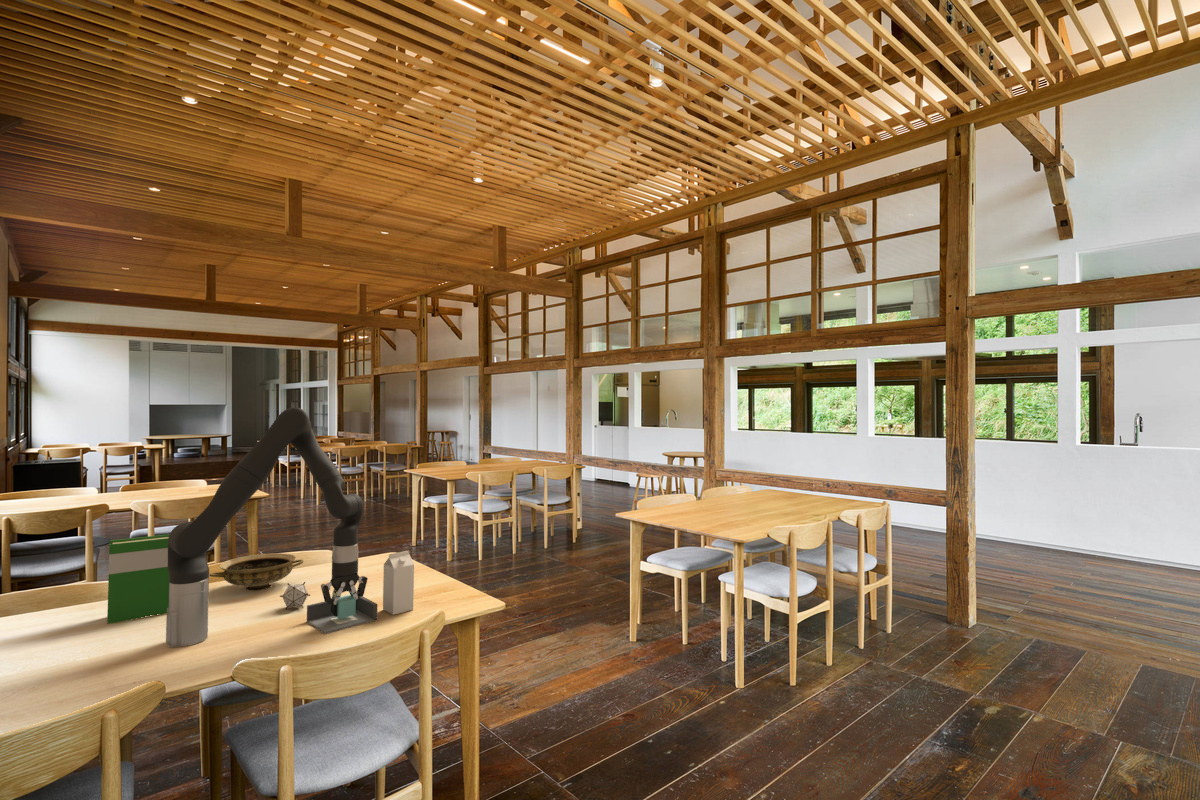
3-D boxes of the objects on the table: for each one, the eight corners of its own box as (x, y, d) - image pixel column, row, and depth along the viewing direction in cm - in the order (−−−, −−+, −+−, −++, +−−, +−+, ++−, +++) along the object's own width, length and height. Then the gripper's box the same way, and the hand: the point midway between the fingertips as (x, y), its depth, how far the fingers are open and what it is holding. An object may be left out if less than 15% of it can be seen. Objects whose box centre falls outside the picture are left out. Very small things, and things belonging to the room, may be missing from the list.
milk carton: (382, 610, 189) (383, 552, 189) (402, 604, 194) (403, 548, 194) (393, 615, 184) (394, 556, 184) (413, 610, 189) (414, 552, 190)
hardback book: (107, 623, 174) (109, 544, 175) (107, 616, 180) (109, 540, 180) (178, 611, 186) (180, 537, 186) (177, 605, 191) (179, 533, 192)
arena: (324, 634, 168) (324, 616, 168) (306, 621, 178) (307, 605, 178) (377, 620, 180) (377, 604, 180) (357, 609, 189) (358, 593, 189)
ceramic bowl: (296, 573, 230) (297, 548, 230) (310, 588, 211) (311, 560, 211) (205, 587, 211) (206, 560, 211) (212, 604, 192) (213, 574, 192)
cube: (339, 618, 175) (339, 602, 175) (332, 614, 178) (332, 598, 179) (355, 614, 179) (355, 598, 179) (348, 610, 182) (349, 595, 182)
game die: (296, 620, 189) (293, 602, 183) (275, 609, 190) (272, 590, 185) (317, 600, 196) (314, 581, 190) (297, 589, 198) (294, 571, 192)
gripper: (326, 565, 171) (325, 622, 171) (373, 556, 182) (371, 610, 181) (316, 560, 176) (315, 616, 176) (362, 552, 187) (361, 605, 186)
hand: (344, 613), depth 179 cm, fingers closed on cube, 4 cm apart
